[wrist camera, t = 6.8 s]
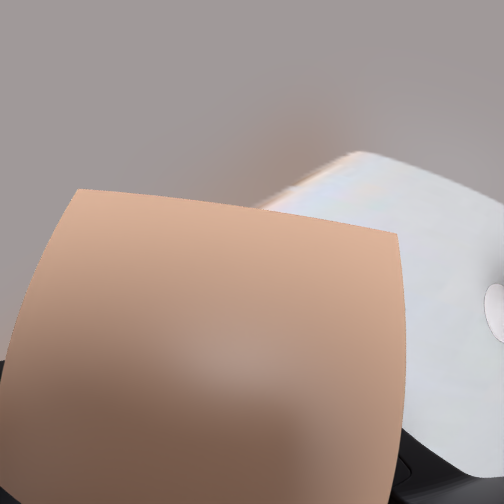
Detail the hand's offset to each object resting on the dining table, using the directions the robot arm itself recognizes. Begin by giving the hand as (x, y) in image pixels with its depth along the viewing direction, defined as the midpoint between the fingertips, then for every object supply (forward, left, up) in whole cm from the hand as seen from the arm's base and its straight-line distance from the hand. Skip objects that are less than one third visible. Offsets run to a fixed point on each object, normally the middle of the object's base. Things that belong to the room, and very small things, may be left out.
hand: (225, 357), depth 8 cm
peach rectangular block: (-1, -1, -7) cm, 7 cm away
